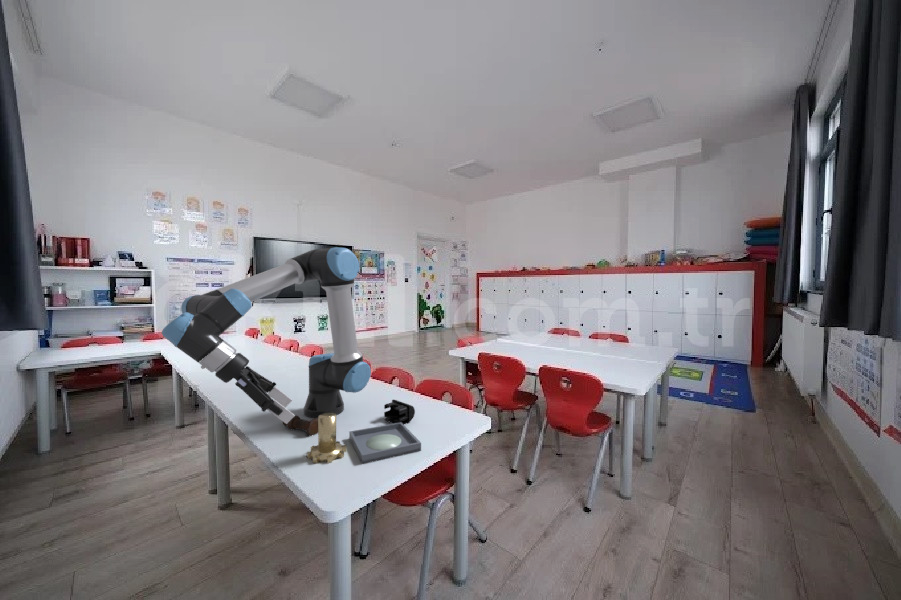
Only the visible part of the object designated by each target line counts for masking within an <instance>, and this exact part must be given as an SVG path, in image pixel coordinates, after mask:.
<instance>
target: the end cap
mask: <svg viewBox="0 0 901 600" xmlns="http://www.w3.org/2000/svg"><path fill="white" fill-rule="evenodd" d="M383 406H384V407H383V408H384V410H386V409H389V410H387V411H384V412H383V413H384V414H383V416H384V421H386V422H388V421H389V422H388V423H390V424H393V423H400V422H402V423H403V425H404V424H405V425H407V424H409V423H410V422H411V421H412V420H413V419H414V417H415V413H416V410H415V407H414V406H413V405H412V404H408V403H405V402H402V401H400V400H397V399H391V402H388V403H385V404H384V405H383ZM406 423H407V424H406ZM405 425H404V426H405Z"/></svg>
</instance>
